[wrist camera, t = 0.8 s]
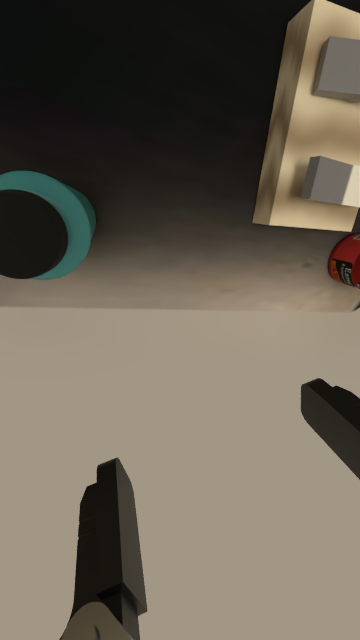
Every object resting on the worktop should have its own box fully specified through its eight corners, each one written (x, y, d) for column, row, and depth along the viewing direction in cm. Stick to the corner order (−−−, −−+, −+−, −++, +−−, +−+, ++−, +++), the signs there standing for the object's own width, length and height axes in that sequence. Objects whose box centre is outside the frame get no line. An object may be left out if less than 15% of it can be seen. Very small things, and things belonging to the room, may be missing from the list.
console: (288, 23, 28) (315, -4, 24) (380, 54, 31) (416, 35, 28) (252, 222, 35) (269, 225, 32) (330, 229, 39) (352, 231, 35)
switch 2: (303, 157, 28) (322, 154, 26) (353, 171, 33) (372, 170, 31) (294, 199, 29) (310, 199, 28) (343, 206, 34) (360, 207, 32)
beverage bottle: (109, 223, 30) (121, 250, 13) (66, 258, 31) (20, 332, 13) (67, 170, 27) (7, 111, 10) (19, 210, 28) (-123, 221, 10)
